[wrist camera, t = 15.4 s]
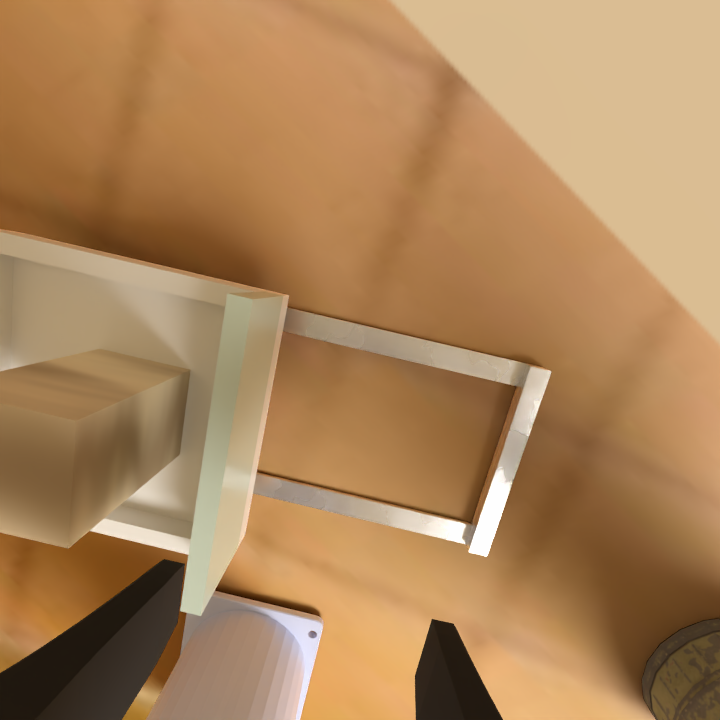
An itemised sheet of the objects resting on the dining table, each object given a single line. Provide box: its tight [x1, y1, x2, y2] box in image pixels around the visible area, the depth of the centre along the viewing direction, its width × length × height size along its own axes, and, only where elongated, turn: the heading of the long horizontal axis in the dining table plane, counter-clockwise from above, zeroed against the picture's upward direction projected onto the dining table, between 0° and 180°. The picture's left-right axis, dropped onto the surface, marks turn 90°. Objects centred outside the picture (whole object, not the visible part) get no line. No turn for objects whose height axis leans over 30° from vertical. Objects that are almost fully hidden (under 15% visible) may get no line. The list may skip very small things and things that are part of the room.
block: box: [0, 349, 191, 549], centre depth 13 cm, size 4×4×6 cm
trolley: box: [0, 229, 289, 616], centre depth 16 cm, size 12×12×7 cm
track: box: [253, 307, 552, 556], centre depth 19 cm, size 10×26×1 cm, turn 77°
